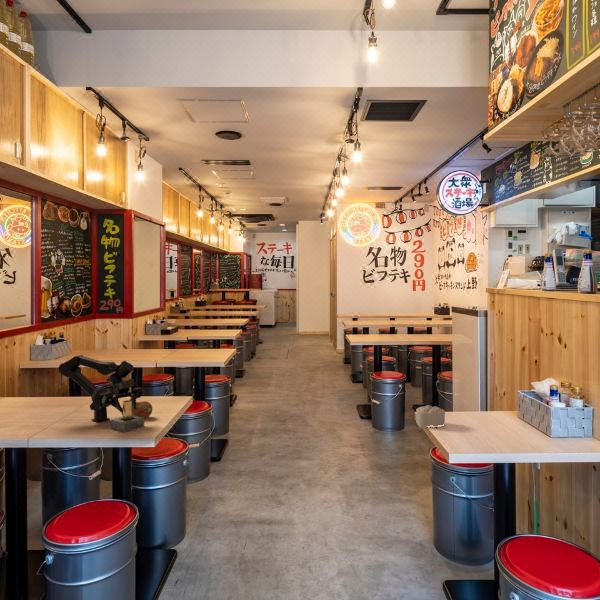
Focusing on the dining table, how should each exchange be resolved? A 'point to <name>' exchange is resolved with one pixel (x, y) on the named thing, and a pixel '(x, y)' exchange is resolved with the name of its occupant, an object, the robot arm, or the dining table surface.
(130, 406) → the bushing
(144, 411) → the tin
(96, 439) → the dining table surface
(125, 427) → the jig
